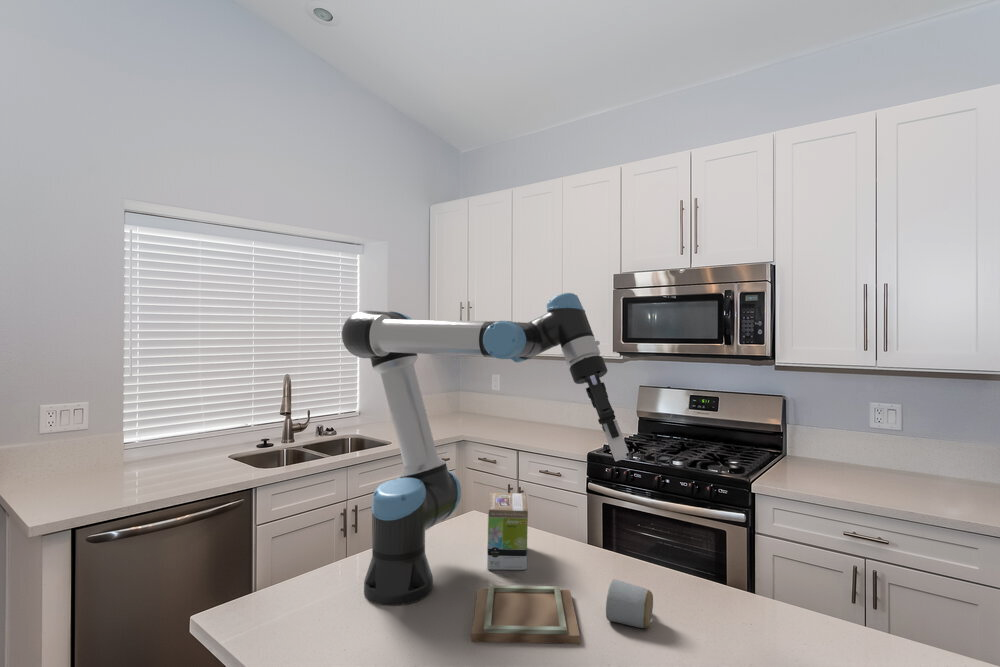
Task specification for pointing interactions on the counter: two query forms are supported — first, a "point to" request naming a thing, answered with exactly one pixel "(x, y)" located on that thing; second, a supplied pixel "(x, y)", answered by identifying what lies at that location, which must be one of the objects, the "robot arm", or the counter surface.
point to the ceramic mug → (629, 604)
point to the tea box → (507, 531)
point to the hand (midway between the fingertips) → (621, 457)
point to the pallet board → (524, 615)
